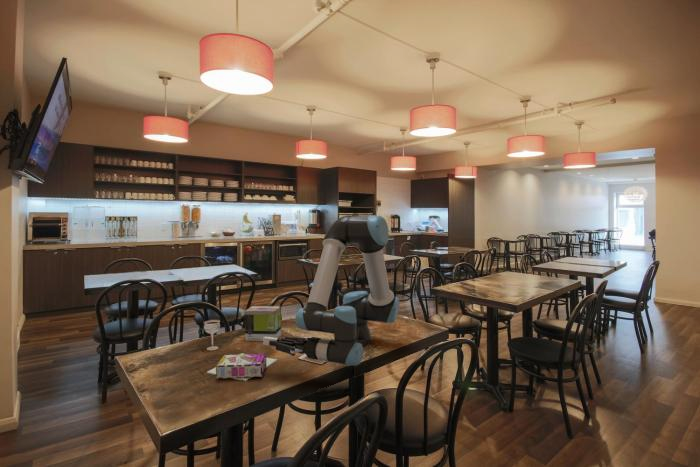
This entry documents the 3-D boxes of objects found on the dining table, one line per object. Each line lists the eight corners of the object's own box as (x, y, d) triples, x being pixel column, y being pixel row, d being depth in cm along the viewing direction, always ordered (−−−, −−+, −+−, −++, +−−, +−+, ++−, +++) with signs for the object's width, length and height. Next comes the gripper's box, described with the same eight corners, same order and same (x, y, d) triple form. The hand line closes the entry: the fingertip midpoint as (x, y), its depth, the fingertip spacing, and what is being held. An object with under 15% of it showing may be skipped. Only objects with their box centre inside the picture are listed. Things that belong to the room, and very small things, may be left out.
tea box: (281, 335, 179) (281, 305, 178) (275, 342, 169) (275, 311, 168) (252, 334, 180) (251, 305, 180) (244, 341, 170) (244, 310, 170)
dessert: (337, 356, 153) (337, 345, 152) (321, 366, 142) (321, 354, 142) (314, 351, 159) (314, 340, 158) (297, 360, 148) (297, 349, 148)
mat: (277, 360, 147) (277, 359, 147) (245, 381, 128) (245, 380, 128) (241, 354, 154) (241, 353, 154) (206, 373, 135) (206, 371, 135)
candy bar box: (262, 363, 130) (215, 365, 129) (262, 377, 130) (215, 379, 129) (266, 352, 141) (223, 354, 140) (266, 364, 141) (223, 367, 140)
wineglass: (215, 351, 157) (214, 324, 156) (201, 350, 158) (200, 323, 158) (223, 346, 164) (223, 320, 163) (210, 345, 165) (209, 319, 164)
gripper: (311, 366, 121) (253, 356, 130) (327, 352, 134) (274, 344, 142) (311, 344, 121) (253, 336, 130) (327, 333, 133) (273, 326, 142)
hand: (264, 340), depth 136 cm, fingers closed
